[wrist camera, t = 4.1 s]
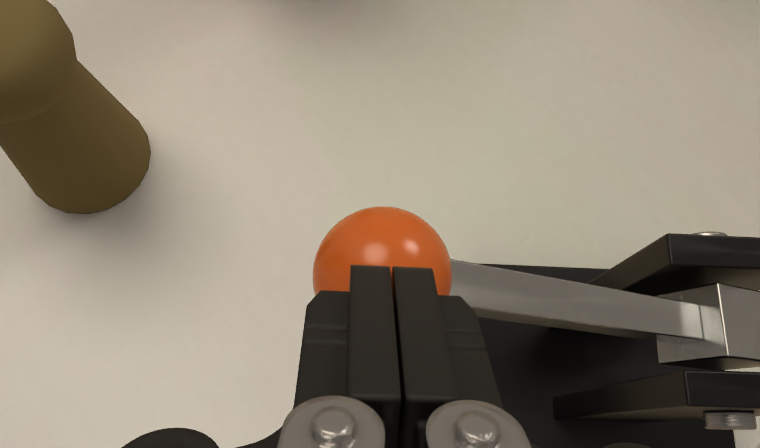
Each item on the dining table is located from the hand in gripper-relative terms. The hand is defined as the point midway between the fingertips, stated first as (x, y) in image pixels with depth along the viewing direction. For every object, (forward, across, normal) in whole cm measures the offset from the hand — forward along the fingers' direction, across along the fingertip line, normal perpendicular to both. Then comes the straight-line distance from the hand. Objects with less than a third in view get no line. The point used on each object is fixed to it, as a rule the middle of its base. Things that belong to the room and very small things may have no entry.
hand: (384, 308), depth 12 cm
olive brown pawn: (+21, +14, +6) cm, 26 cm away
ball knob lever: (+6, -5, +4) cm, 8 cm away
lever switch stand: (+14, -11, +12) cm, 22 cm away
